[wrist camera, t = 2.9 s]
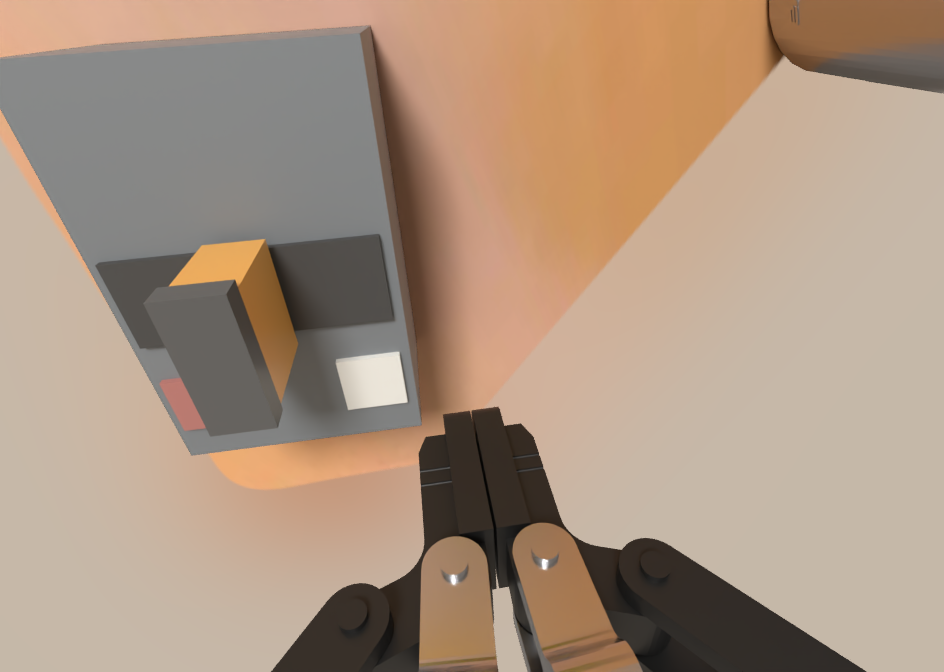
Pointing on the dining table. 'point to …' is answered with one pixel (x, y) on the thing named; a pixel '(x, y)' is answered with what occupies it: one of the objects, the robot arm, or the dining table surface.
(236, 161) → the breaker box
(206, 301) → the breaker handle
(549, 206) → the dining table surface
